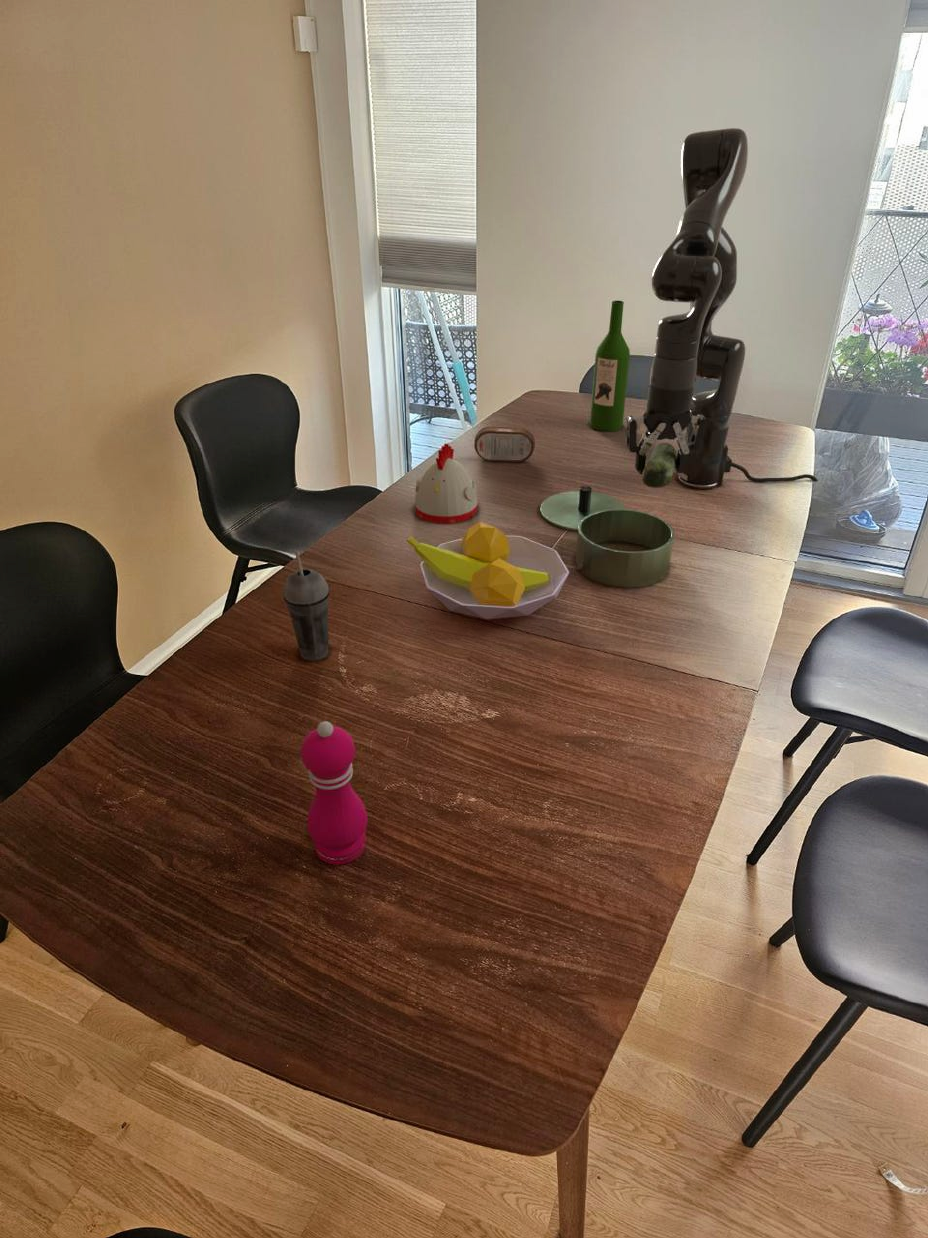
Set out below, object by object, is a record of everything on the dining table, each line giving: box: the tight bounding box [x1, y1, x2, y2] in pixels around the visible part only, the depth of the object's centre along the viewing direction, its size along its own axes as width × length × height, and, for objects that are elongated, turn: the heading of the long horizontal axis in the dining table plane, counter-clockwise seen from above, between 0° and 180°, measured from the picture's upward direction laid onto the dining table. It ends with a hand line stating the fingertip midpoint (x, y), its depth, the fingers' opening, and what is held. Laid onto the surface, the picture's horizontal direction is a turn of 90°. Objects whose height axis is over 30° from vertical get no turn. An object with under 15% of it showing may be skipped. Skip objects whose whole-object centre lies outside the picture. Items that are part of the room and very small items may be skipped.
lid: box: [539, 485, 628, 532], centre depth 174 cm, size 19×19×6 cm
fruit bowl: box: [406, 521, 570, 620], centre depth 146 cm, size 28×27×11 cm
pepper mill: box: [300, 720, 369, 866], centre depth 94 cm, size 7×7×20 cm
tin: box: [473, 425, 536, 463], centre depth 199 cm, size 15×3×8 cm, turn 84°
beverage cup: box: [283, 549, 331, 662], centre depth 128 cm, size 7×7×20 cm
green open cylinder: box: [575, 508, 675, 589], centre depth 156 cm, size 18×18×8 cm
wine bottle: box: [589, 300, 631, 432], centre depth 212 cm, size 9×9×32 cm
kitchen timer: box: [414, 443, 479, 525], centre depth 174 cm, size 14×14×15 cm
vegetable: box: [641, 442, 678, 489], centre depth 146 cm, size 14×5×5 cm, turn 161°
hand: (659, 471), depth 147 cm, fingers closed on vegetable, 6 cm apart
